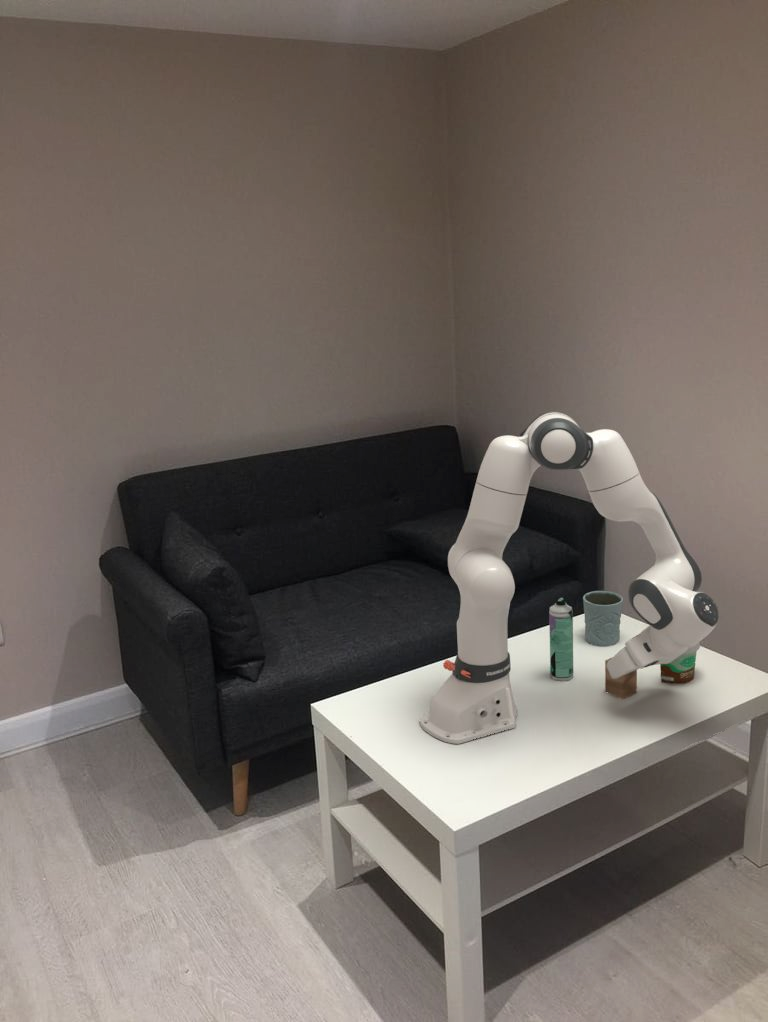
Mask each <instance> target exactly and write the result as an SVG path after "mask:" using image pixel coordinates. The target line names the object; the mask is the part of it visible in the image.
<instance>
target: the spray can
mask: <svg viewBox="0 0 768 1022" xmlns="http://www.w3.org/2000/svg"><path fill="white" fill-rule="evenodd" d="M548 612H549V613H548V614H549V615H548V616H549V617H548V619H549V663H550V664H549V665H550V668H549V669H550V670H549V671H550V673H549V674H550V678H551V679H552V680H553V681H558V682H559V681H560V682H567V681H569V680H572V679H573V678H574V627H573V626H574V621H573V620H574V618H573V615H574V613H573V607H572V606H570V605H569V604H567V602H566V601H565V598H564V597H557V599H556V602H554V604H553V605H551V606H550V607H549V611H548Z"/></svg>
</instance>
